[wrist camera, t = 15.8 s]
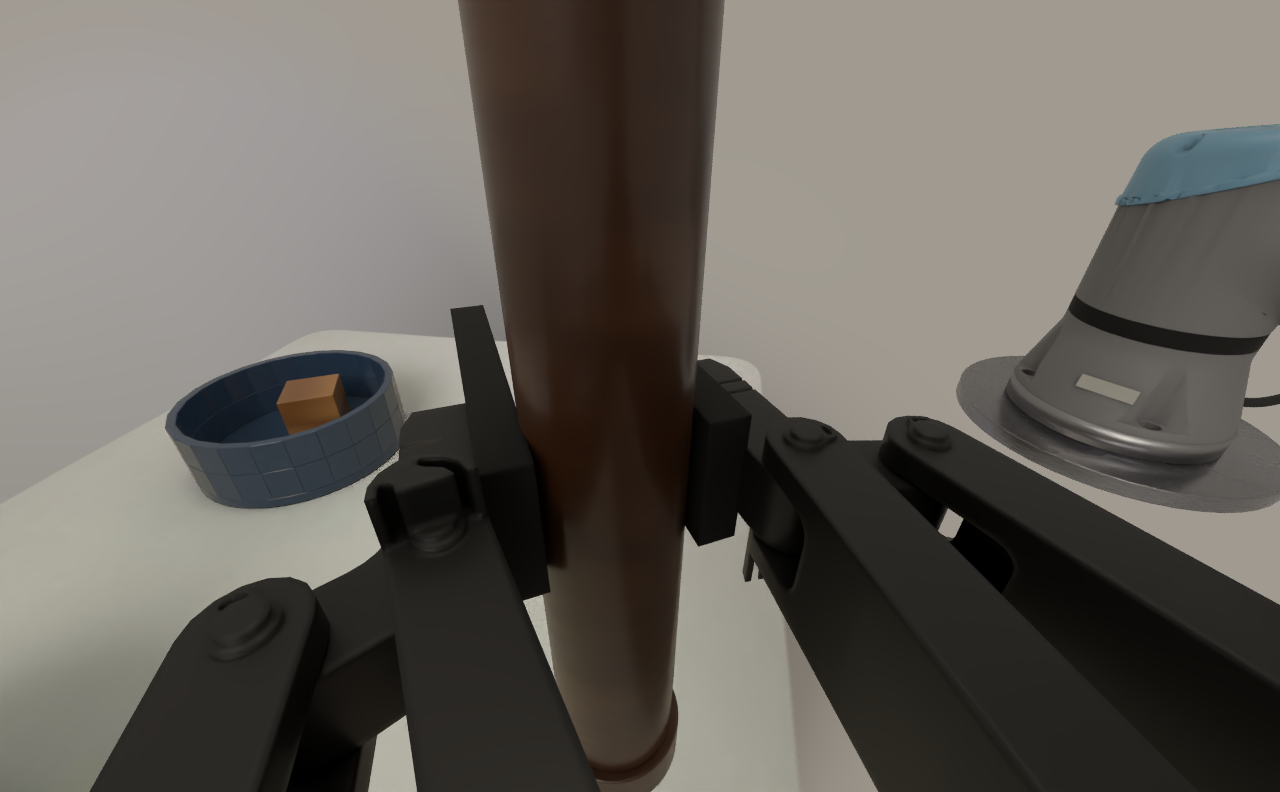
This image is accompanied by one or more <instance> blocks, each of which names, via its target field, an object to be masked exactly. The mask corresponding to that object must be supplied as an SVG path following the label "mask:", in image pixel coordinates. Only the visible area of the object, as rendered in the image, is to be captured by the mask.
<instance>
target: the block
mask: <svg viewBox="0 0 1280 792" xmlns="http://www.w3.org/2000/svg"><path fill="white" fill-rule="evenodd" d="M276 404H277V407H278V409H279V411H280V414H281V416H282V418H283V421H284V423H285V425H286V428H287V430H288V432H289V435H291V434H295V433H298V432H302V431H305V430H309V429H312V428H315V427H317V426H320V425H322V424H325V423H327V422H330V421H332V420H335V419H337V418H340V417H342V416H343V415H345V414H347V413H349V412H351V408H350V405H349V402H348V399H347V396H346V393H345V390H344V387H343V384H342V381H341V378H340V376H339V374H333V375H326V376H319V377H312V378H305V379H298V380H291V381H287V382H286V384H285V386H284V388H283V390H282V393H281V395H280V397H279V399H278V401H277V403H276Z"/></svg>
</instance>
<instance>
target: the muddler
mask: <svg viewBox="0 0 1280 792" xmlns="http://www.w3.org/2000/svg"><path fill="white" fill-rule="evenodd" d="M458 4H459V11H460V18H461V25H462V32H463V38H464V46H465V53H466V59H467V66H468V74H469V81H470V87H471V94H472V102H473V108H474V116H475V123H476V129H477V136H478V143H479V151H480V157H481V164H482V172H483V178H484V186H485V192H486V200H487V207H488V214H489V221H490V227H491V234H492V242H493V249H494V255H495V263H496V270H497V277H498V284H499V290H500V298H501V305H502V312H503V318H504V325H505V333H506V340H507V347H508V354H509V361H510V368H511V375H512V382H513V389H514V396H515V403H516V410H517V416H518V423H519V427H520V429H521V431H522V433H523V435H524V436H525V437H526V440H527V443H528V447H529V450H530V453H531V456H532V459H533V462H534V467H535V475H536V483H537V491H538V498H539V506H540V514H541V521H542V529H543V537H544V544H545V552H546V560H547V567H548V575H549V583H550V590H551V592H549V593H546V594H543V598H544V605H545V612H546V619H547V626H548V633H549V640H550V647H551V654H552V661H553V668H554V675H555V681H556V683H557V686H558V688H559V691H560V693H561V695H562V698H563V700H564V703H565V705H566V708H567V710H568V713H569V715H570V717H571V720H572V722H573V725H574V727H575V730H576V732H577V735H578V737H579V739H580V742H581V744H582V747H583V749H584V752H585V754H586V757H587V759H588V761H589V764H590V766H591V769H592V771H593V774H594V776H595V779H596V781H597V783H598V786H599V788H600V791H601V792H651V791H652V790H653V789H654V788H655V787H656V786H657V785H658V784H659V783H660V782H661V780H662V779H663V778H664V776H665V775H666V773H667V771H668V769H669V767H670V765H671V762H672V760H673V756H674V752H675V746H676V738H677V727H678V706H677V701H676V696H675V693H674V691H673V676H674V662H675V649H676V636H677V623H678V609H679V596H680V583H681V570H682V556H683V543H684V530H685V517H686V503H687V490H688V477H689V464H690V450H691V437H692V424H693V411H694V397H695V384H696V371H697V358H698V344H699V331H700V318H701V305H702V292H703V278H704V265H705V252H706V239H707V224H708V212H709V199H710V185H711V171H712V159H713V158H712V157H713V146H714V145H713V144H714V133H715V119H716V106H717V93H718V79H719V66H720V53H721V40H722V27H723V13H724V0H458Z"/></svg>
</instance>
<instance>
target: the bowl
mask: <svg viewBox="0 0 1280 792" xmlns="http://www.w3.org/2000/svg"><path fill="white" fill-rule="evenodd" d="M333 374H339V376H340V378H341V381H342V384H343V387H344V390H345V393H346V396H347V399H348V402H349V405H350V408H351V412H349V413H347V414H345V415H343V416H342V417H340V418H337V419H335V420H332V421H330V422H327V423H325V424H322V425H320V426H317V427H315V428H312V429H309V430H305V431H302V432H298V433H295V434H291V435H289V432H288V430H287V428H286V425H285V423H284V421H283V418H282V416H281V414H280V411H279V409H278V407H277V404H276V403H277V401H278V399H279V397H280V395H281V393H282V390H283V388H284V386H285V384H286V382H287V381H291V380H298V379H305V378H312V377H319V376H326V375H333ZM405 422H406V420H405V414H404V411H403V407H402V403H401V400H400V396H399V392H398V389H397V385H396V382H395V378H394V374H393V371H392V369H391V368H390V366H389V365H388V363H387V362H386V361H384V360H382V359H381V358H379V357H377V356H374V355H371V354H367V353H363V352H356V351H344V350H330V351H314V352H306V353H298V354H292V355H287V356H282V357H278V358H273V359H268V360H265V361H261V362H258V363H255V364H251V365H248V366H245V367H242V368H239V369H237V370H234V371H232V372H229V373H227V374H224V375H222V376H219V377H217V378H215V379H213V380H211V381H209V382H207V383H205V384H203V385H202V386H200V387H198V388H196V389H194V390H193V391H192V392H190V393H189V394H188V395H187V396H185V397H184V398H182V399H181V400H180V401H178V402H177V403H176V405H175V406H174V407H173V408H172V410H171V411H170V412H169V414H168V415H167V419H166V425H165V429H166V431H167V433H168V434H169V436H170V438H171V440H172V441H173V443H174V445H175V446H176V448H177V450H178V452H179V453H180V455H181V457H182V459H183V460H184V462H185V464H186V465H187V467H188V469H189V471H190V472H191V474H192V476H193V477H194V479H195V480H196V482H197V483H198V485H199V487H200V488H201V490H202V492H203V493H204V494H205V495H206V496H207V497H208V498H210V499H212V500H213V501H215V502H217V503H220V504H223V505H226V506H231V507H237V508H269V507H279V506H284V505H290V504H295V503H299V502H303V501H307V500H311V499H314V498H317V497H320V496H324V495H326V494H329V493H331V492H334V491H337V490H339V489H341V488H343V487H346V486H348V485H350V484H352V483H354V482H356V481H358V480H360V479H361V478H363V477H365V476H367V475H368V474H370V473H371V472H373V471H374V470H376V469H377V468H378V467H380V466H381V465H382V464H384V463H385V462H386V461H387V460H388V459H389V458H390V457H391V456H392V455H393V454H394V453H395V452H396V451H397V450H398V448H399V443H400V429H401V427H402V426H403V425H404V423H405Z"/></svg>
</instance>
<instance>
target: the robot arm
mask: <svg viewBox="0 0 1280 792" xmlns="http://www.w3.org/2000/svg"><path fill="white" fill-rule="evenodd" d="M1115 205H1119V206H1118V208H1117V210H1116V212H1115V214H1114V216H1113V218H1112V220H1111V222H1110V224H1109V226H1108V228H1107V230H1106V232H1105V234H1104V236H1103V238H1102V240H1101V242H1100V244H1099V246H1098V248H1097V250H1096V252H1095V254H1094V256H1093V258H1092V260H1091V262H1090V264H1089V267H1088V268H1087V270H1086V273H1085V275H1084V277H1083V279H1082V281H1081V283H1080V285H1079V287H1078V289H1077V291H1076V293H1075V295H1074V297H1073V299H1072V301H1071V303H1070V306H1069V308H1068V310H1067V312H1066V314H1065V315H1064V317H1063V318H1062V319H1061V320H1060V321H1059V322H1058V323H1057V324H1056V325H1055V326H1054V327H1053V328H1052V329H1051V330H1050V331H1049V332H1048V333H1047V334H1046V335H1045V336H1044V337H1043V339H1041V341H1040V342H1039V343H1038V344H1037V345H1036V346H1035V347H1034V348H1033V349H1032V350H1031V351H1030V352H1029V353H1028V354H1027V355H1026V356H1025V357H1024V358H1023V359H1022V360H1021V361H1020V362H1019V363H1018V364H1017V365H1016V366H1015V367H1014V370H1013V372H1012V374H1011V376H1010V378H1009V381H1008V383H1007V386H1006V390H1007V394H1008V396H1009V397H1010V399H1011V400H1012V401H1013V402H1014V404H1015V405H1016V406H1017V407H1019V408H1020V409H1021V410H1022V411H1023V412H1025V413H1026V414H1027V415H1029V416H1030V417H1032V418H1033V419H1035V420H1036V421H1038V422H1040V423H1041V424H1043V425H1045V426H1047V427H1049V428H1051V429H1053V430H1055V431H1057V432H1059V433H1061V434H1063V435H1065V436H1068V437H1070V438H1072V439H1075V440H1077V441H1080V442H1082V443H1085V444H1088V445H1091V446H1094V447H1097V448H1100V449H1103V450H1106V451H1110V452H1113V453H1117V454H1120V455H1124V456H1129V457H1133V458H1138V459H1143V460H1148V461H1155V462H1162V463H1172V464H1199V463H1206V462H1210V461H1213V460H1216V459H1218V458H1219V457H1221V456H1222V455H1223V453H1224V452H1225V451H1226V450H1227V448H1228V447H1229V446H1230V444H1231V443H1232V442H1233V440H1234V439H1235V438H1236V436H1237V435H1238V433H1239V426H1240V420H1241V415H1242V409H1243V407H1265V406H1272V405H1277V404H1280V394H1278V395H1274V396H1269V397H1262V398H1245V392H1246V387H1247V382H1248V377H1249V371H1250V365H1251V362H1252V359H1253V358H1254V356H1255V355H1256V353H1257V352H1258V350H1259V349H1260V347H1261V346H1262V345H1263V343H1264V342H1265V340H1266V339H1267V338H1268V336H1269V335H1270V333H1271V332H1272V331H1273V330H1274V329H1275V328H1276V327H1277V326H1278V325H1280V124H1274V125H1261V126H1248V127H1236V128H1224V129H1214V130H1204V131H1203V130H1202V131H1194V132H1186V133H1180V134H1176V135H1173V136H1170V137H1168V138H1166V139H1163V140H1161V141H1160V142H1158V143H1157V144H1155V145H1154V146H1153V147H1151V148H1150V149H1149V150H1148V151H1147V152H1146V154H1145V155H1144V156H1143V158H1142V159H1141V161H1140V163H1139V165H1138V167H1137V169H1136V171H1135V172H1134V174H1133V176H1132V178H1131V180H1130V181H1129V183H1128V185H1127V187H1126V189H1125V190H1124V192H1123V194H1122V195H1120V196H1119V197H1118V198H1117V200H1116V202H1115ZM450 310H451V316H452V322H453V328H454V334H455V341H456V347H457V353H458V359H459V365H460V372H461V378H462V384H463V390H464V396H465V402H466V403H464V404H458V405H453V406H447V407H441V408H436V409H430V410H424V411H419V412H413V413H412V414H411V415H410V417H409V418H408V419H407V421H406V422H405V423H404V425H403V426H402V427H401V429H400V443H399V447H400V450H399V461H397V462H395V463H394V464H392V465H391V466H389V467H388V468H386V469H385V470H383V471H382V472H380V473H379V474H378V475H377V476H376V477H375V478H374V480H373V481H372V482H371V483H370V484H369V486H368V487H367V490H366V495H365V499H364V503H365V505H366V508H367V511H368V513H369V516H370V519H371V521H372V524H373V527H374V529H375V532H376V535H377V537H378V540H379V543H380V545H381V549H380V550H379V551H378V552H377V553H376V554H375V555H373V556H372V557H371V558H370V559H368V560H367V561H366V562H365V563H363V564H362V565H360V566H358V567H356V568H355V569H353V570H351V571H350V572H348V573H346V574H344V575H342V576H340V577H338V578H336V579H334V580H332V581H330V582H328V583H326V584H324V585H322V586H320V587H318V588H316V589H314V590H311V588H310V587H309V585H308V584H307V583H305V582H303V581H300V580H297V579H294V578H291V577H285V578H267V579H264V580H261V581H258V582H254V583H251V584H248V585H245V586H242V587H240V588H238V589H236V590H234V591H232V592H230V593H229V594H227V595H225V596H223V597H221V598H219V599H217V600H216V601H214V602H213V603H212V604H210V605H209V606H208V607H207V608H205V609H204V610H203V611H202V612H201V613H199V614H198V615H197V616H196V617H194V618H193V619H192V620H191V621H190V622H189V623H188V625H187V626H186V627H185V628H184V630H183V631H182V632H181V634H180V635H179V636H178V637H177V639H176V640H175V641H174V643H173V644H172V646H171V648H170V650H169V651H168V653H167V655H166V657H165V659H164V660H163V662H162V664H161V666H160V667H159V669H158V671H157V673H156V675H155V676H154V678H153V680H152V682H151V683H150V685H149V687H148V689H147V691H146V692H145V694H144V696H143V698H142V699H141V701H140V703H139V705H138V707H137V708H136V710H135V712H134V714H133V715H132V717H131V719H130V721H129V723H128V724H127V726H126V728H125V730H124V731H123V733H122V735H121V737H120V738H119V740H118V742H117V744H116V746H115V747H114V749H113V751H112V753H111V754H110V756H109V758H108V760H107V762H106V763H105V765H104V767H103V769H102V770H101V772H100V774H99V776H98V778H97V779H96V781H95V783H94V785H93V786H92V788H91V790H90V792H368V788H369V782H370V776H371V770H372V764H373V758H374V751H375V745H376V739H377V735H378V734H379V733H380V732H382V731H383V730H385V729H386V728H388V727H389V726H391V725H392V724H394V723H395V722H397V721H398V720H399V719H401V718H402V717H404V716H405V715H406V717H407V724H408V731H409V738H410V745H411V752H412V758H413V765H414V772H415V779H416V786H417V792H601V791H600V788H599V786H598V783H597V781H596V779H595V776H594V774H593V771H592V769H591V766H590V764H589V761H588V759H587V757H586V754H585V752H584V749H583V747H582V744H581V742H580V739H579V737H578V735H577V732H576V730H575V727H574V725H573V722H572V720H571V717H570V715H569V713H568V710H567V708H566V705H565V703H564V700H563V698H562V695H561V693H560V691H559V688H558V686H557V683H556V681H555V678H554V676H553V673H552V671H551V669H550V666H549V664H548V661H547V659H546V656H545V654H544V651H543V649H542V647H541V644H540V642H539V639H538V637H537V634H536V632H535V629H534V627H533V625H532V622H531V620H530V617H529V615H528V612H527V610H526V607H525V605H524V603H523V600H527V599H530V598H533V597H536V596H540V595H543V594H546V593H549V592H551V590H550V583H549V575H548V567H547V560H546V552H545V544H544V537H543V529H542V521H541V514H540V506H539V498H538V491H537V483H536V475H535V467H534V462H533V459H532V456H531V453H530V450H529V447H528V443H527V440H526V437H525V436H524V435H523V433H522V431H521V429H520V427H519V423H518V416H517V410H516V406H515V403H514V400H513V397H512V394H511V391H510V388H509V385H508V381H507V378H506V375H505V372H504V369H503V366H502V363H501V360H500V357H499V354H498V350H497V347H496V344H495V341H494V338H493V335H492V332H491V329H490V326H489V322H488V319H487V316H486V313H485V310H484V307H483V305H480V306H472V307H463V308H455V309H450ZM948 508H949V509H950V510H952V511H953V512H955V513H956V514H958V515H959V516H961V517H962V518H963V521H962V523H961V526H960V528H959V530H958V532H957V534H956V536H955V537H954V538H950V537H945V536H944V535H942V534H940V533H939V532H938V530H939V527H940V525H941V523H942V521H943V518H944V516H945V514H946V512H947V509H948ZM737 513H739V514H740V516H741V517H742V518H743V519H744V521H745V522H746V523H747V525H748V526H749V527H750V531H749V537H748V542H747V548H746V554H745V560H744V566H743V575H744V579H745V582H748V581H751V577H752V572H753V566H754V562H755V563H756V565H757V567H758V569H759V571H758V579H763V578H764V580H765V582H766V584H767V586H768V588H769V589H770V591H771V593H772V595H773V597H774V599H775V601H776V602H777V604H778V606H779V608H780V610H781V612H782V614H783V615H784V617H785V619H786V621H787V623H788V625H789V626H790V628H791V630H792V632H793V634H794V636H795V638H796V640H797V641H798V643H799V645H800V647H801V649H802V651H803V653H804V654H805V656H806V658H807V660H808V662H809V664H810V666H811V668H812V669H813V671H814V672H815V675H816V677H817V679H818V681H819V682H820V684H821V686H822V688H823V690H824V692H825V694H826V695H827V697H828V699H829V701H830V703H831V704H832V706H833V708H834V710H835V712H836V714H837V716H838V718H839V719H840V721H841V723H842V725H843V727H844V729H845V731H846V733H847V734H848V736H849V738H850V740H851V742H852V744H853V746H854V747H855V749H856V751H857V753H858V755H859V756H860V758H861V760H862V762H863V764H864V766H865V768H866V769H867V772H868V773H869V775H870V777H871V779H872V781H873V783H874V785H875V786H876V788H877V790H878V792H1280V605H1279V604H1277V603H1275V602H1273V601H1272V600H1270V599H1268V598H1266V597H1264V596H1262V595H1261V594H1259V593H1257V592H1255V591H1253V590H1251V589H1250V588H1248V587H1246V586H1244V585H1242V584H1240V583H1238V582H1237V581H1235V580H1233V579H1231V578H1229V577H1228V576H1226V575H1224V574H1222V573H1220V572H1218V571H1216V570H1215V569H1213V568H1211V567H1209V566H1207V565H1205V564H1204V563H1202V562H1200V561H1198V560H1196V559H1194V558H1193V557H1191V556H1189V555H1187V554H1185V553H1184V552H1182V551H1180V550H1178V549H1176V548H1174V547H1173V546H1171V545H1169V544H1167V543H1165V542H1163V541H1161V540H1160V539H1158V538H1156V537H1154V536H1152V535H1150V534H1149V533H1147V532H1145V531H1143V530H1141V529H1139V528H1138V527H1136V526H1134V525H1132V524H1130V523H1128V522H1127V521H1125V520H1123V519H1121V518H1119V517H1117V516H1116V515H1114V514H1112V513H1110V512H1108V511H1106V510H1104V509H1103V508H1101V507H1099V506H1097V505H1095V504H1093V503H1092V502H1090V501H1088V500H1086V499H1084V498H1082V497H1081V496H1079V495H1077V494H1075V493H1073V492H1072V491H1070V490H1068V489H1066V488H1064V487H1062V486H1060V485H1059V484H1057V483H1055V482H1053V481H1051V480H1050V479H1048V478H1046V477H1044V476H1042V475H1040V474H1038V473H1036V472H1035V471H1033V470H1031V469H1029V468H1027V467H1026V466H1024V465H1022V464H1020V463H1018V462H1016V461H1015V460H1013V459H1011V458H1009V457H1007V456H1005V455H1004V454H1002V453H1000V452H998V451H996V450H994V449H992V448H991V447H989V446H987V445H985V444H983V443H982V442H980V441H978V440H976V439H974V438H972V437H971V436H969V435H967V434H965V433H963V432H961V431H960V430H958V429H956V428H953V427H952V426H950V425H947V424H945V423H943V422H940V421H937V420H933V419H930V418H928V417H922V416H903V417H897V418H895V419H893V420H892V421H890V422H889V423H888V425H887V428H886V431H885V434H884V438H883V440H881V441H880V440H879V441H875V440H874V441H847V440H846V439H845V438H844V437H843V436H842V435H841V434H840V433H839V432H838V431H836V430H835V429H833V428H832V427H831V426H829V425H826V424H824V423H822V422H819V421H816V420H812V419H807V418H802V417H797V418H795V417H793V418H787V417H786V416H785V415H784V414H783V413H781V412H780V411H779V410H778V409H777V408H776V407H775V406H773V405H772V404H771V403H770V402H769V401H768V400H767V399H765V398H764V397H763V396H762V395H761V394H760V393H758V392H757V391H756V390H753V389H752V387H751V386H750V385H749V384H748V383H747V382H746V381H745V380H743V381H742V378H741V377H740V376H739V375H738V374H736V373H735V372H734V371H733V370H732V369H731V368H729V367H728V366H726V365H723V364H721V363H719V362H716V361H714V360H712V359H704V360H698V361H697V371H696V384H695V397H694V411H693V424H692V437H691V450H690V464H689V477H688V490H687V503H686V517H685V526H686V528H687V529H688V531H689V532H690V534H691V536H692V537H693V539H694V540H695V542H696V544H697V545H698V547H699V546H702V545H705V544H709V543H712V542H715V541H718V540H722V539H725V538H728V537H731V536H734V534H735V527H736V520H737Z"/></svg>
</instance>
